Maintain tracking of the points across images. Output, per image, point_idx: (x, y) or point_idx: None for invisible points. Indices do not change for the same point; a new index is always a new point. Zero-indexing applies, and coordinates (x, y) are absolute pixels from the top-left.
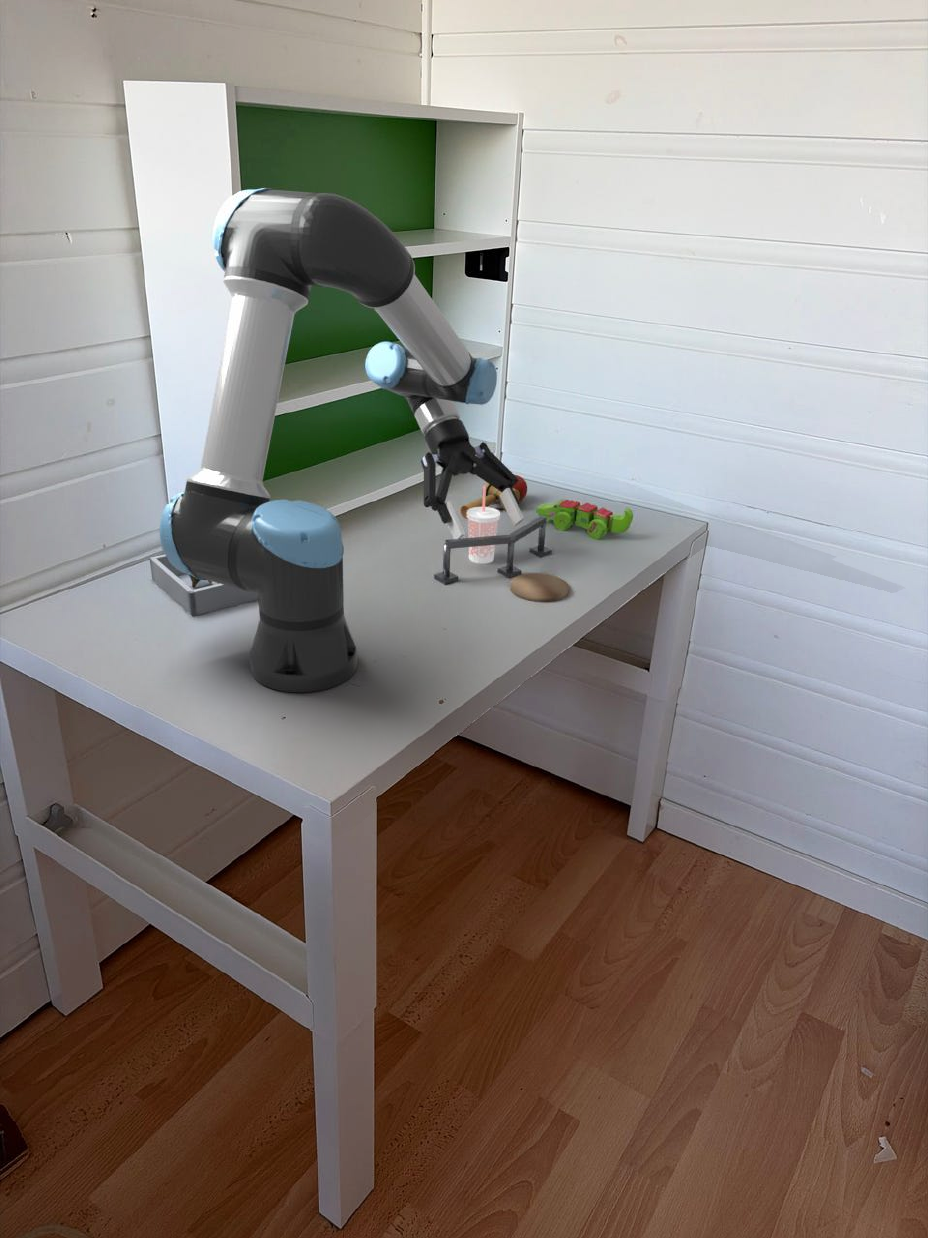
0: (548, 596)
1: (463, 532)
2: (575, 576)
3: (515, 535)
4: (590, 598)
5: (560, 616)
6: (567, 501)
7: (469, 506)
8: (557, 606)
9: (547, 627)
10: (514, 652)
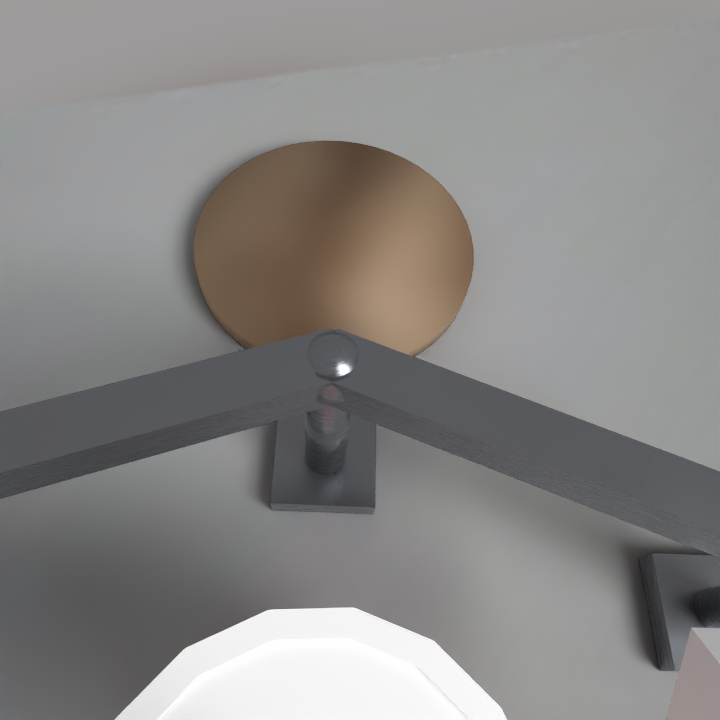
0: (385, 158)
1: (714, 642)
2: (80, 252)
3: (306, 336)
4: (226, 106)
5: (433, 87)
6: None
7: None
8: (386, 131)
9: (525, 69)
10: (708, 40)
